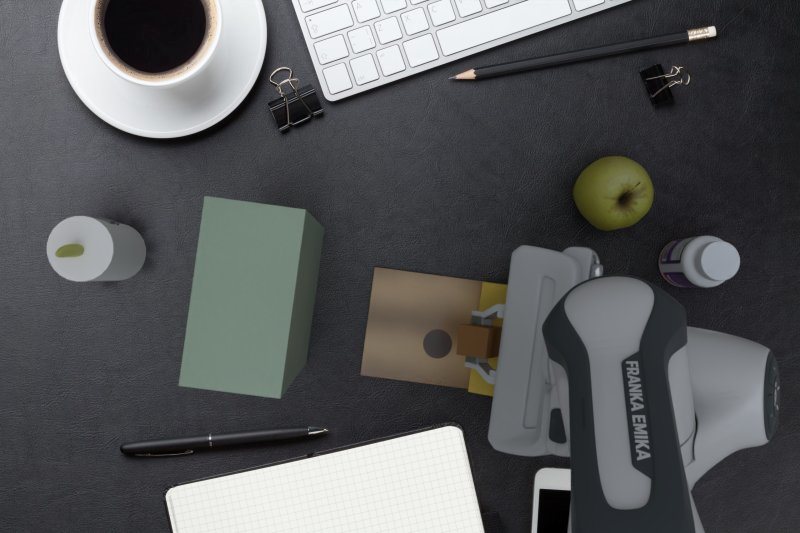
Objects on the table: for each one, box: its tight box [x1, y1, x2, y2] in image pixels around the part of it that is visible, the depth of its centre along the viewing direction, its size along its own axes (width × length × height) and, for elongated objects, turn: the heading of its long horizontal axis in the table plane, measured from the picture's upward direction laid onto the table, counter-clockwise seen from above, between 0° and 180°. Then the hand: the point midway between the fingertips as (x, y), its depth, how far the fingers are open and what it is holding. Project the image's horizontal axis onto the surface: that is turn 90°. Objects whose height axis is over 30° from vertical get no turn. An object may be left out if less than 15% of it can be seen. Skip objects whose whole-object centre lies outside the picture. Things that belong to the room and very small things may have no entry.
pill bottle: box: [658, 235, 741, 288], centre depth 80 cm, size 5×5×10 cm
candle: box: [46, 215, 147, 283], centre depth 75 cm, size 6×6×15 cm
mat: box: [359, 266, 508, 390], centre depth 84 cm, size 12×20×1 cm, turn 82°
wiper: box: [456, 281, 508, 397], centre depth 78 cm, size 12×4×10 cm, turn 172°
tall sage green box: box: [178, 195, 326, 400], centre depth 71 cm, size 15×8×24 cm, turn 172°
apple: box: [572, 155, 655, 231], centre depth 80 cm, size 8×8×10 cm
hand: (471, 338), depth 79 cm, fingers closed on wiper, 3 cm apart
